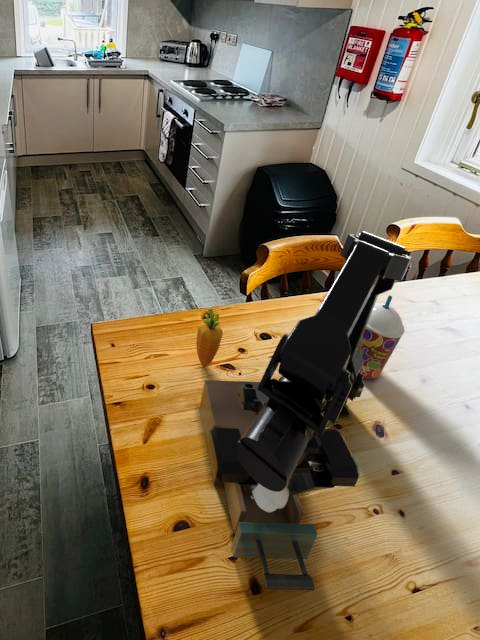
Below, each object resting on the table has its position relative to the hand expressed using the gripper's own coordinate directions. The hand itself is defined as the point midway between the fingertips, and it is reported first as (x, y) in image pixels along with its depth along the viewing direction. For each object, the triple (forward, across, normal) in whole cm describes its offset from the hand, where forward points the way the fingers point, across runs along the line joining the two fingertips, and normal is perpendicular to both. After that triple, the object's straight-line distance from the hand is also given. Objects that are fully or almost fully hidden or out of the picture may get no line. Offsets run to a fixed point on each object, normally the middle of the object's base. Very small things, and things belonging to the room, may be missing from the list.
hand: (268, 490), depth 57 cm
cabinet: (+8, 0, -11) cm, 13 cm away
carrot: (+8, +3, -27) cm, 28 cm away
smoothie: (+8, -32, -28) cm, 43 cm away
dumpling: (+1, 0, 0) cm, 1 cm away
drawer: (+7, 0, +1) cm, 7 cm away
